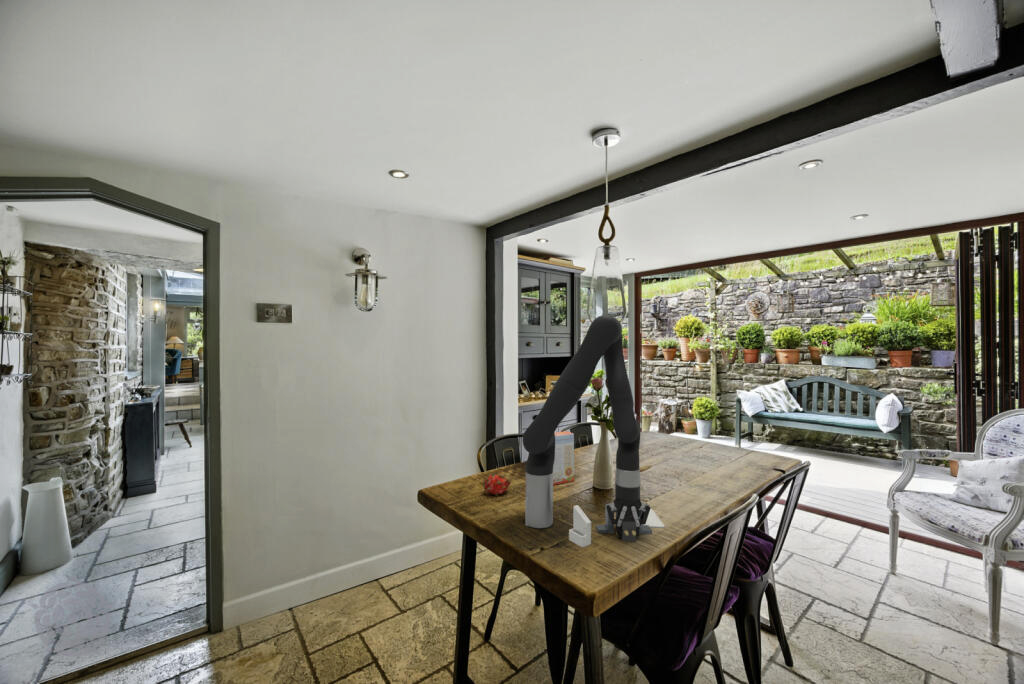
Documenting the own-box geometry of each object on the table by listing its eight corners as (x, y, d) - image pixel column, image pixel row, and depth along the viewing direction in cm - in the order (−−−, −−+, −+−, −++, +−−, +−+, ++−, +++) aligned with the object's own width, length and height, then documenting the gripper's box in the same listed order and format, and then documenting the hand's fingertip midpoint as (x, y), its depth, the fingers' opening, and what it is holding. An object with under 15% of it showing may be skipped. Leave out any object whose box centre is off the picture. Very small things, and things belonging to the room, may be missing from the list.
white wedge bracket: (568, 523, 136) (577, 504, 133) (587, 550, 129) (598, 531, 126) (559, 526, 134) (569, 507, 130) (578, 554, 127) (589, 534, 123)
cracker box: (567, 477, 188) (567, 430, 188) (574, 481, 182) (574, 433, 182) (539, 482, 182) (539, 433, 182) (546, 486, 177) (546, 436, 176)
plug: (623, 543, 128) (624, 524, 128) (614, 524, 141) (615, 506, 141) (637, 543, 128) (637, 524, 128) (627, 524, 141) (627, 506, 141)
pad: (640, 527, 139) (640, 526, 139) (629, 509, 153) (629, 508, 153) (665, 527, 139) (665, 526, 139) (652, 510, 153) (652, 509, 153)
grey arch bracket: (598, 533, 135) (598, 509, 135) (596, 527, 139) (596, 504, 139) (652, 533, 134) (652, 510, 134) (648, 528, 138) (648, 505, 138)
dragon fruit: (479, 499, 167) (507, 499, 172) (487, 492, 161) (516, 492, 166) (478, 477, 172) (505, 478, 177) (485, 470, 166) (513, 471, 170)
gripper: (647, 478, 135) (647, 531, 135) (602, 478, 136) (602, 531, 136) (654, 486, 128) (654, 543, 128) (606, 486, 128) (606, 542, 128)
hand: (627, 536), depth 132 cm, fingers open, 4 cm apart
